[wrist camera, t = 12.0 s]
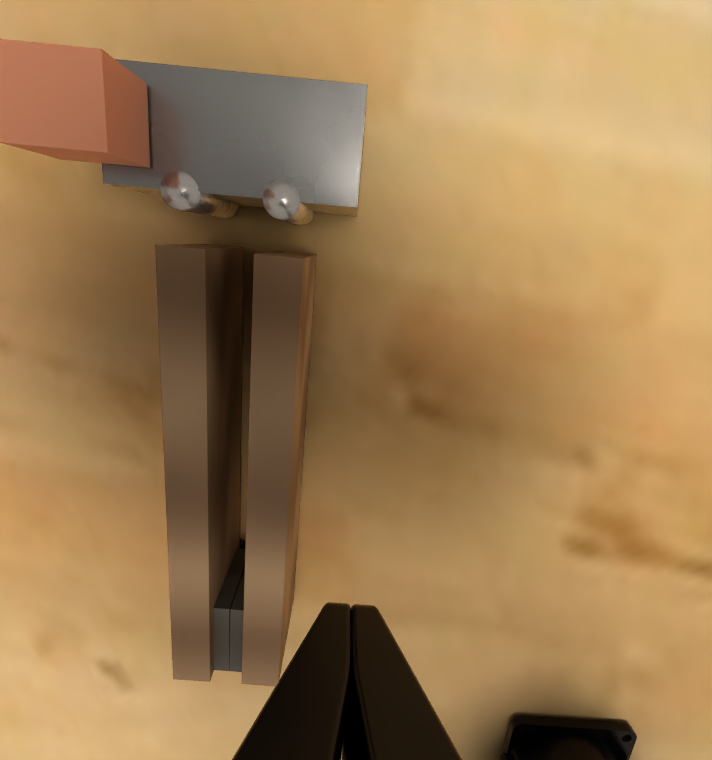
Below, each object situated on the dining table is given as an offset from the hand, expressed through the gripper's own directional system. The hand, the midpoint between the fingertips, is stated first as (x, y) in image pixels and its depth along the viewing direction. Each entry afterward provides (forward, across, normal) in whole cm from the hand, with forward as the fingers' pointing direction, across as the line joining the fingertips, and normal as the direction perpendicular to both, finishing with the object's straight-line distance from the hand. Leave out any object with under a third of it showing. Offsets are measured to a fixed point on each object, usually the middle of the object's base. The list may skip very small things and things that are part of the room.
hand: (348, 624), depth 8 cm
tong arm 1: (+12, +3, +3) cm, 13 cm away
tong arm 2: (+12, +5, +2) cm, 13 cm away
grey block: (+12, +4, -8) cm, 15 cm away
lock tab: (+8, +7, -8) cm, 13 cm away
